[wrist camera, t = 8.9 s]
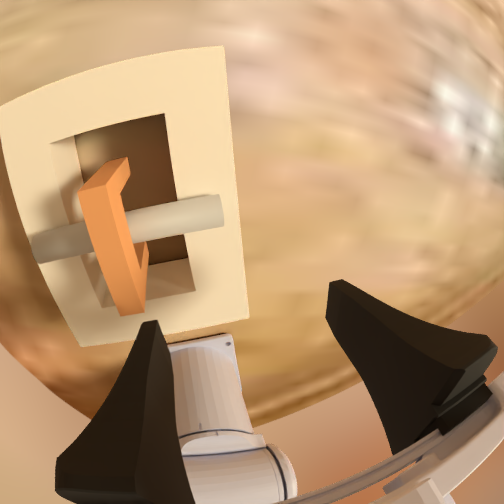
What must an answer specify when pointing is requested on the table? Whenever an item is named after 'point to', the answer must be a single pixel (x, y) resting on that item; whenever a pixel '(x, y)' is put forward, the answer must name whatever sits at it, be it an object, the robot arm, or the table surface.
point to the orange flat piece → (115, 237)
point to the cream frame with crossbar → (139, 220)
